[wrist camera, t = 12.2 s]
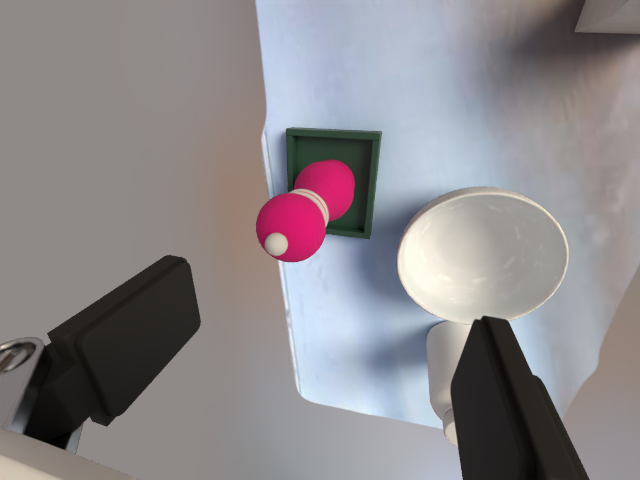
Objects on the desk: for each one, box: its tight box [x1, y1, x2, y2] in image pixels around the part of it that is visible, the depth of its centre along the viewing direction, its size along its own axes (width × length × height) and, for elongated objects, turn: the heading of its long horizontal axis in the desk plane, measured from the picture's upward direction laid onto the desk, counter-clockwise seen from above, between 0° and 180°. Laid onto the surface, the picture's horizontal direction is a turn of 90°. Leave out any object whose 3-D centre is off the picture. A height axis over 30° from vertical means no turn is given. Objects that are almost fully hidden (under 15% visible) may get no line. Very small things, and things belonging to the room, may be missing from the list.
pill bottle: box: [426, 321, 471, 447], centre depth 38 cm, size 8×8×15 cm
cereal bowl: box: [397, 186, 569, 325], centre depth 35 cm, size 17×17×7 cm
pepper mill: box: [256, 159, 355, 262], centre depth 30 cm, size 7×7×20 cm
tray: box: [286, 127, 382, 239], centre depth 39 cm, size 14×12×2 cm
